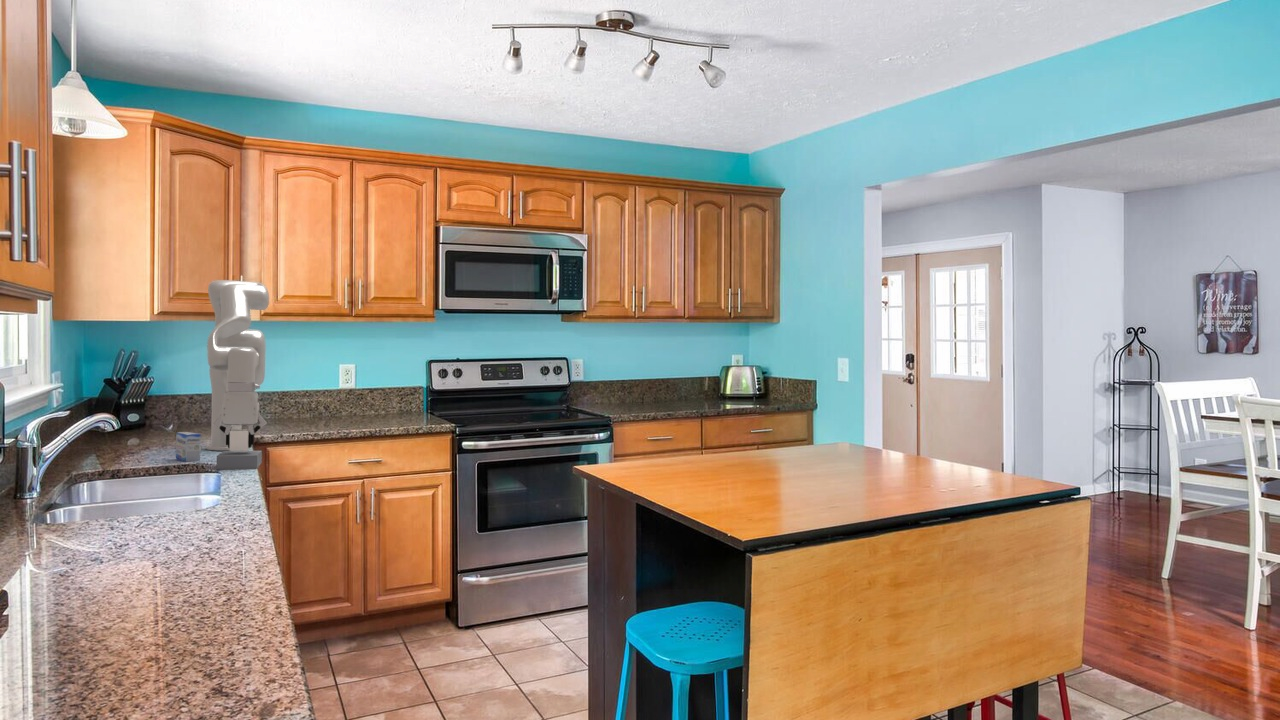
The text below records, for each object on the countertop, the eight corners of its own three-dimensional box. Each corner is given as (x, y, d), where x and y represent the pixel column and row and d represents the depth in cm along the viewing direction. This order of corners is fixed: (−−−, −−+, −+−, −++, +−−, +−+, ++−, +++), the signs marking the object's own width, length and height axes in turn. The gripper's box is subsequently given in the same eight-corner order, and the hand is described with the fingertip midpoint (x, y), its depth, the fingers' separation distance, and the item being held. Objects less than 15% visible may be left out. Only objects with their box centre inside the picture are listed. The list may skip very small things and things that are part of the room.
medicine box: (175, 459, 251) (175, 432, 251) (190, 458, 255) (190, 431, 255) (185, 462, 247) (186, 434, 246) (200, 460, 250) (201, 433, 250)
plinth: (222, 463, 245) (222, 451, 245) (261, 463, 248) (261, 450, 248) (216, 469, 234) (216, 456, 234) (257, 468, 238) (257, 455, 238)
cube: (232, 448, 243) (232, 429, 243) (250, 448, 244) (250, 429, 244) (229, 450, 238) (229, 431, 238) (247, 450, 240) (248, 431, 240)
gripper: (272, 387, 247) (271, 445, 248) (212, 387, 242) (211, 446, 242) (270, 389, 240) (269, 448, 240) (207, 388, 235) (206, 449, 235)
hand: (239, 446), depth 241 cm, fingers closed on cube, 4 cm apart
